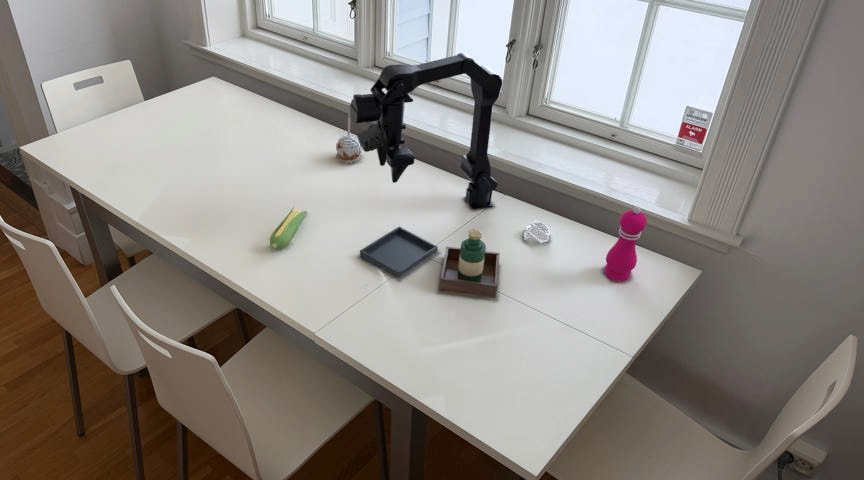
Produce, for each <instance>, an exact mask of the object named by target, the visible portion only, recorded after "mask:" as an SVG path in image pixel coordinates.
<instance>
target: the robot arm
mask: <svg viewBox="0 0 864 480" xmlns="http://www.w3.org/2000/svg"><path fill="white" fill-rule="evenodd" d="M460 75H466V76H468V78H469V79H470V89H471V93H472V97H473V100H474V105H473V106H474V107H473V116H472V126H471V136H470V145H469V150H468V152H467V153H466V154H464V155H461V164H460V166H459V168H460V169H461V171H462V173H463V174H464V175H465V176H466V178H467V180H469V181H470V182H468V187H467V188H466V191H465V196H464V197H463V199H464V201H465V202H466V204H468V206H469V207H470V208H471V210H473V211H474V210H481V209H488V208H493V207H494V203H492V196H493V191H496V189H497V187H498V185H499V183H498V182H497V181H496V180H495V179H494V178H493V177H492V169H491V168H492V167H491V166H492V165H491V162H490V160H489V155H488V150H489V144H490V143H489V142H490V135H491V125H492V117H493V109H494V105H495V103H496V102H497V100H498V99H499V98H500V95H501V91H502V88H503V78H502V77H501V76H500V75H499V74H498V73H497V72H495V71H494V70H493V69H491V68H490V67H489V66H487V65H480V64H478V63H477V62H475V60H474V59H473V58H472V57H471V56H469V55H468V54H467V53H466V52H459V53H457V54H456V55H451V56H448V57H444V58H440V59H436V60H430V61H427V62H424V63H423V62H422V63H420V64H414V65H411V64H403V63H402V64H389V65H387V66H385V67H384V68H383V69H382V71H381V73H380V75H379V76H378V79H377V80H376V81H375V82H374V84H373V85H372V86H371V88H370V90H369V91H370V92H371V93H367V94H365V93H363V94H360V93H359V94H358V93H357V94H356V93H355V94H353V97H352V99H351V101H350V104H349V114H350V120H351V122H352V123H353V124H364V123H373V122H376V124H370V125H369V126H368V127H367V128H366V129H365V130H362V131H360V132H358V133H357V134H356V137H357V138H358V140H359V143H360V146H361V147H362V150H363V151H364V152H365V153H369V152H371V151H373V152H374V151H375V150H376V153H377V157H378V162H379V166H380V167H384V166H385V165H386V163H387V165H388V166H389V167H390V172H391V181H392V184H395V183H397V182H398V181H399V180H400V179H401V177H402V175H403V173H405V171H406V169H407V168H408V167H409V166H411V165H412V166H413V165H414V164H415V155H414V154H413V152H412V151H411V150H410V149H409V148H408V147H401V145H405V138H403V131H404V130H406V128H407V127H406V126H407V125H406V123H405V122H404V116H405V105H406V104H407V103H414V99H413V98H412V96H410V95H409V94H410V93H411V92H414V91H415V90H416V89H417V88H418V87H420V86H422V85H425V84H429V83H430V84H431V83H434V82H438V81H441V80H444V79H450V78H453V77H456V76H460ZM384 89H385V91H386V92H385V91H384Z"/></svg>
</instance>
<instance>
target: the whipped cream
mask: <svg viewBox="0 0 864 480" xmlns="http://www.w3.org/2000/svg"><path fill="white" fill-rule="evenodd" d="M523 234H524V235H523V239H524V241H527V240H528V239H533V240H536V241H537V242H538V243H539V244H543V243H546V242H548V241H549V239H550V235H551V233H550V230H549V227H548V226H547V224H545V222H542V221H539V220H534V221H532V222H531V223H530V224H529V225H527V227H526V228H525V231H524V233H523Z"/></svg>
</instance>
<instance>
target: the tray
mask: <svg viewBox="0 0 864 480" xmlns="http://www.w3.org/2000/svg"><path fill="white" fill-rule="evenodd" d="M438 248H439V247H438V246H437V245H435V244H433V243H431V242H430V241H428V240H426V239H424V238H422V237H420V236H419V235H416V234H415V233H413V232H411V231H409V230H408V229H405V228H403V227H401V226H397V227H396V228H394V229H392V230H391V231H389V232H388V233H386V234H384V235H382V236H381V237H379V238H378V239H376V240H375V241H373V242H372V243H370V244H368V245H367V246H365V247H363V248H362V249H360V250H359V258H360V259H362V260H364V261H366V262H367V263H369V264H371V265H373V266H375V267H376V268H378V269H379V270H382V269H383V270H384V271H386V272H387V273H389V274H392V275H393V276H394V277H397V278H398V279H399V278H402V277H403V276H404V275H405V274H407V273H408V272H410V271H411V270H413V269H415V268H416V267H417V266H419V265H420V264H421V263H423V262H424V261H426V260H427V259H429V258H431V256H433V255H434V254H436V253H438V250H439V249H438Z"/></svg>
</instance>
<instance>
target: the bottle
mask: <svg viewBox="0 0 864 480" xmlns="http://www.w3.org/2000/svg"><path fill="white" fill-rule="evenodd" d="M481 238H482V232H481V231H480V230H478V229H472V230H469V231H468V238H466V239H464V240H463V241H462V242H461V244H460V248H461V250H460V256H459V264H458V274H457V277H458V279H459V280H466V281H474V282H479V281H480V280H481V277H482V271H483V265H484V259H485V251H487V245H486V243H485V242H484V241H483V240H482V239H481Z"/></svg>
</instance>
